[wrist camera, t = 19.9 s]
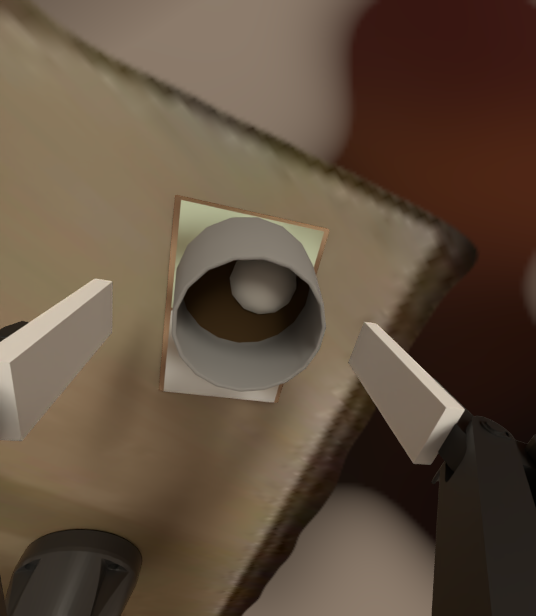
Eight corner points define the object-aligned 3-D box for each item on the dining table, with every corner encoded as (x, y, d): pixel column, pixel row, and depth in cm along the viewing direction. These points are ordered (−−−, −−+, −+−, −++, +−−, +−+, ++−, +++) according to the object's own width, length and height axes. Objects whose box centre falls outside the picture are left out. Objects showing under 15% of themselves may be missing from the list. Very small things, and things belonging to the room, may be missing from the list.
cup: (281, 192, 21) (317, 199, 11) (315, 300, 24) (361, 370, 15) (163, 238, 21) (107, 280, 12) (215, 337, 25) (202, 426, 16)
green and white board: (276, 397, 30) (278, 404, 29) (160, 384, 28) (157, 392, 27) (326, 228, 23) (330, 230, 22) (177, 195, 21) (174, 195, 20)
